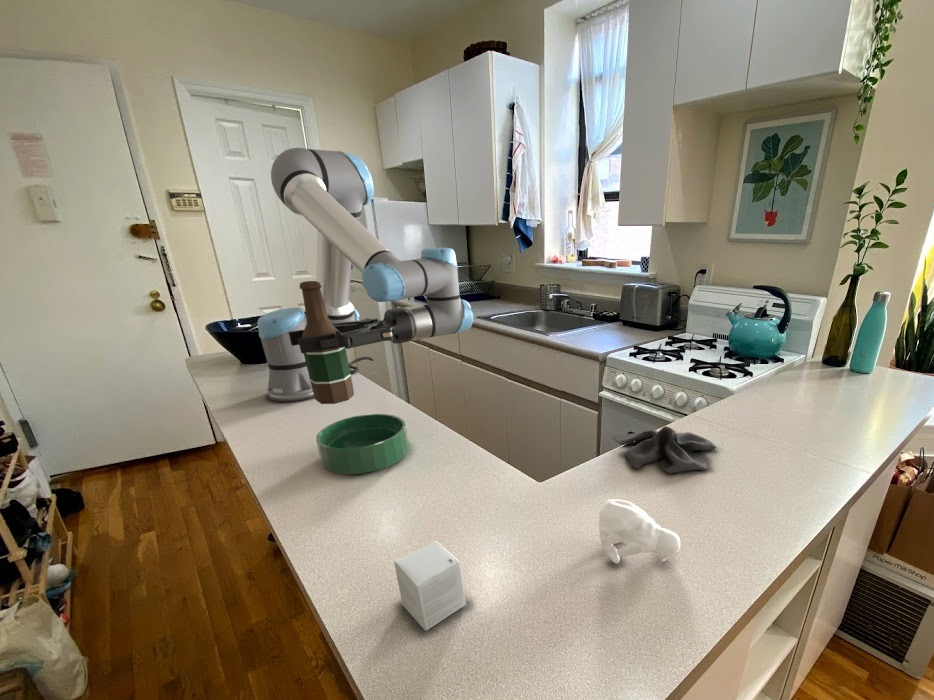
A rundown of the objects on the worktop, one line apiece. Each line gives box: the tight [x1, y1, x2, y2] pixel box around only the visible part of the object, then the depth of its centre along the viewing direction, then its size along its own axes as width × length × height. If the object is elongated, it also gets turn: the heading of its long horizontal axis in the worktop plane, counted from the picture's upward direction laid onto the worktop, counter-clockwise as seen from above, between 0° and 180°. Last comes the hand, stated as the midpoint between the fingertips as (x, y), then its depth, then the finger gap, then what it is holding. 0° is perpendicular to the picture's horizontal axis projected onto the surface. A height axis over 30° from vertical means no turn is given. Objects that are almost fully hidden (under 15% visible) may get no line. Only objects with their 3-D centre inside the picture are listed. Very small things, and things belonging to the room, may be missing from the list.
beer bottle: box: [299, 280, 355, 405], centre depth 94 cm, size 8×8×24 cm
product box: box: [393, 540, 467, 632], centre depth 59 cm, size 6×6×7 cm
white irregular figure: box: [598, 499, 681, 564], centre depth 67 cm, size 6×8×12 cm
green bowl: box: [315, 413, 410, 475], centre depth 97 cm, size 17×17×6 cm
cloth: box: [611, 425, 717, 474], centre depth 97 cm, size 22×19×6 cm
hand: (295, 342), depth 90 cm, fingers closed on beer bottle, 7 cm apart
